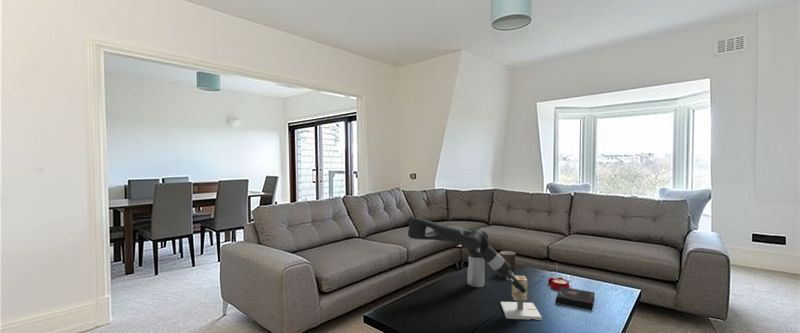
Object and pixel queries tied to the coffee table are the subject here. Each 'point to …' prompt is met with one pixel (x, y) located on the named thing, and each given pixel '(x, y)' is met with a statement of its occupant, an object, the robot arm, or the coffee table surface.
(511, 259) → the pillar candle
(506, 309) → the plate
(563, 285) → the alarm clock
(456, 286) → the coffee table surface
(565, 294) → the portable cd player
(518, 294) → the beige wooden tall block
